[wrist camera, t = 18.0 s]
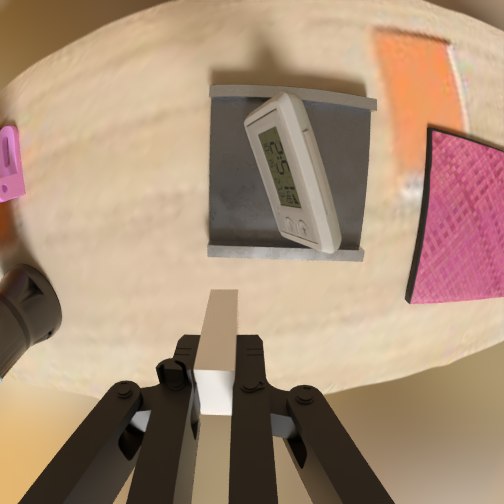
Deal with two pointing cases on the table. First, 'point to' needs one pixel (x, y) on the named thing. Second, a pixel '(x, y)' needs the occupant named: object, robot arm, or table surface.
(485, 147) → the laptop bag
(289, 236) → the digital clock
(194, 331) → the table surface
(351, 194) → the rail plate
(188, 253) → the table surface
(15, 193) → the bracket
